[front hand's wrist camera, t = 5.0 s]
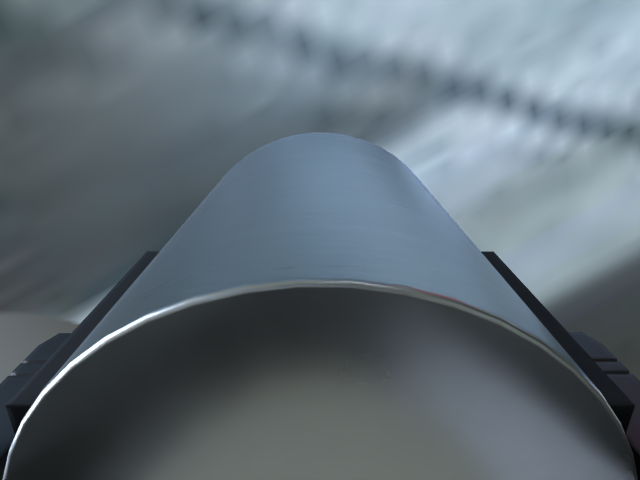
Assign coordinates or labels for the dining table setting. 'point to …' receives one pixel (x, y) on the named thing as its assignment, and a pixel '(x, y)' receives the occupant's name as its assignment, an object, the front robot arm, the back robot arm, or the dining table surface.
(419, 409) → the can
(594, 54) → the dining table surface
